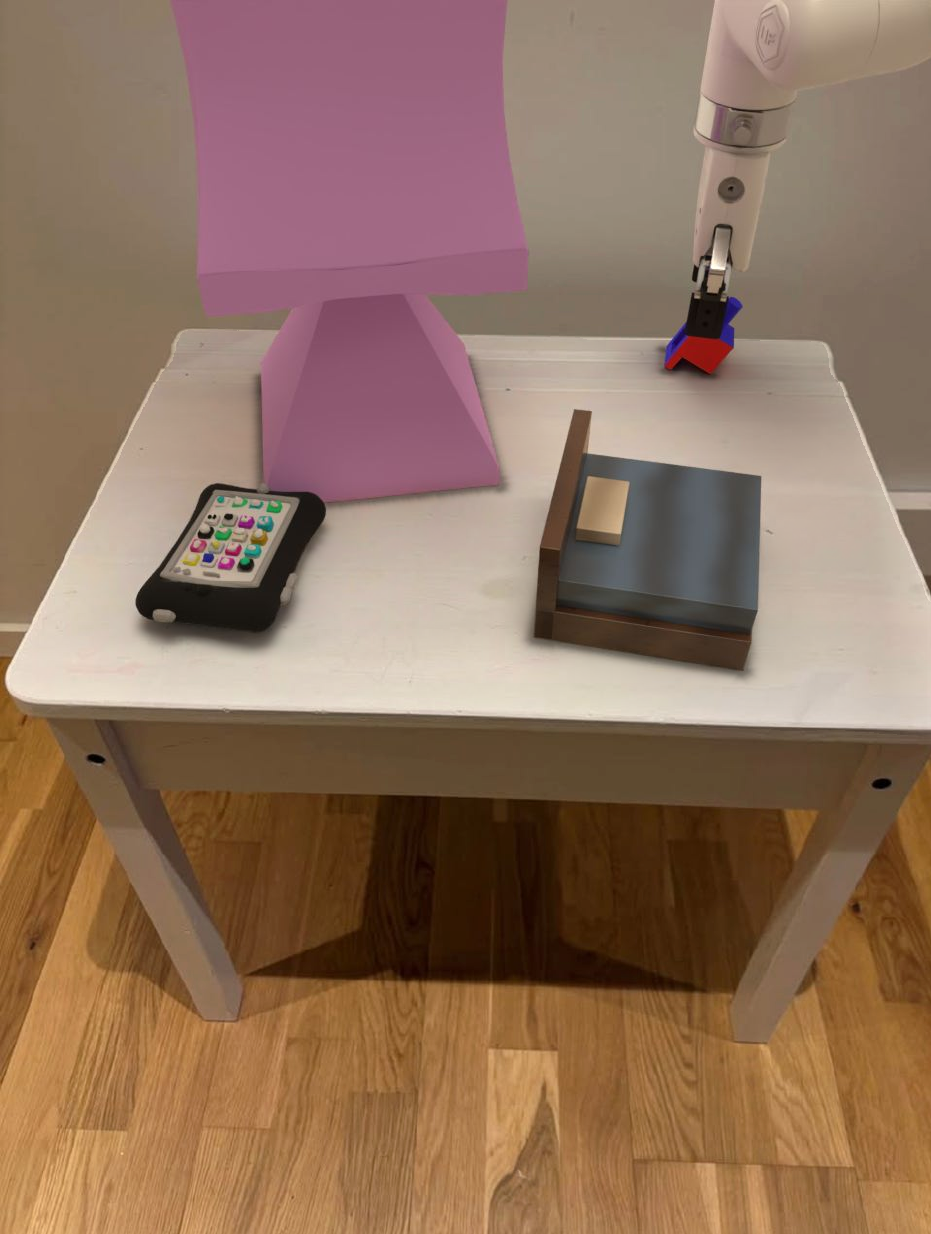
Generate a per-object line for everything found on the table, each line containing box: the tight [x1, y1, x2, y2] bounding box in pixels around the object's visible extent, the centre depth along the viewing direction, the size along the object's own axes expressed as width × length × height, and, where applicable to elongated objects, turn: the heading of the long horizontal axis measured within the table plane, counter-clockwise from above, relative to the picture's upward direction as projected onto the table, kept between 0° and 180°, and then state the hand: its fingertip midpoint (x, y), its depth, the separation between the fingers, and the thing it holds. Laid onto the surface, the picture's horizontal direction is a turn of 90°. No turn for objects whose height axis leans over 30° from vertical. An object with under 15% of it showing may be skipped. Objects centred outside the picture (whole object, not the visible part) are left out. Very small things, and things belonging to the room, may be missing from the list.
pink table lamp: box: [169, 0, 530, 504], centre depth 73 cm, size 22×22×45 cm
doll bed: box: [533, 408, 762, 671], centre depth 73 cm, size 15×16×9 cm
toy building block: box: [663, 296, 743, 375], centre depth 94 cm, size 4×4×8 cm
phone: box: [134, 482, 327, 634], centre depth 75 cm, size 11×15×4 cm
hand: (705, 308), depth 93 cm, fingers open, 9 cm apart
